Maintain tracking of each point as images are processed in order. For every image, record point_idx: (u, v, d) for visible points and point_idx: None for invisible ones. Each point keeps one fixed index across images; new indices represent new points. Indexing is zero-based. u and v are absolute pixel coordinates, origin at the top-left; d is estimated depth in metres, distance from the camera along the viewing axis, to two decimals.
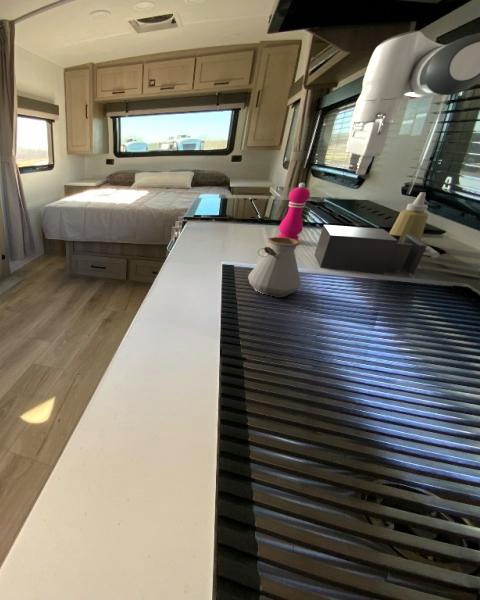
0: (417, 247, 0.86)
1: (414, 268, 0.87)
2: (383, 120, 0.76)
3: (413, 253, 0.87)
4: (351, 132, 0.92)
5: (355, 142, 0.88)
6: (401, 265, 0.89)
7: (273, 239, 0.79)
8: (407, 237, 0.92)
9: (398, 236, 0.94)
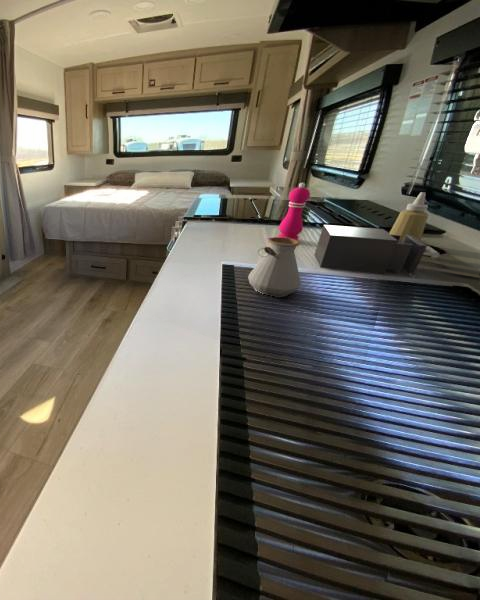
0: (417, 247, 0.86)
1: (414, 268, 0.87)
2: None
3: (413, 253, 0.87)
4: (474, 130, 0.82)
5: None
6: (401, 265, 0.89)
7: (273, 239, 0.79)
8: (407, 237, 0.92)
9: (398, 236, 0.94)
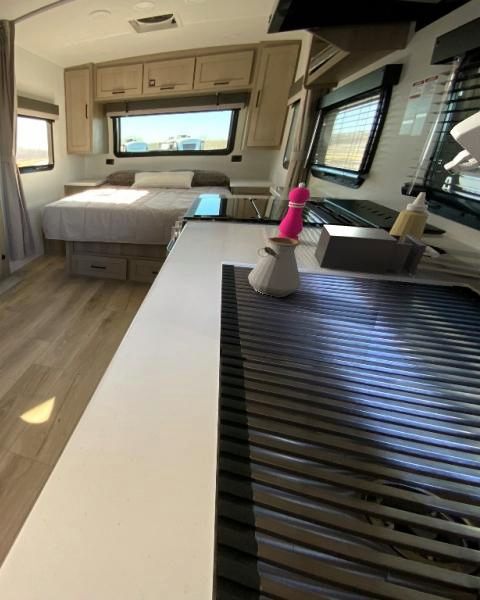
0: (417, 247, 0.86)
1: (414, 268, 0.87)
2: None
3: (413, 253, 0.87)
4: None
5: None
6: (401, 265, 0.89)
7: (273, 239, 0.79)
8: (407, 237, 0.92)
9: (398, 236, 0.94)
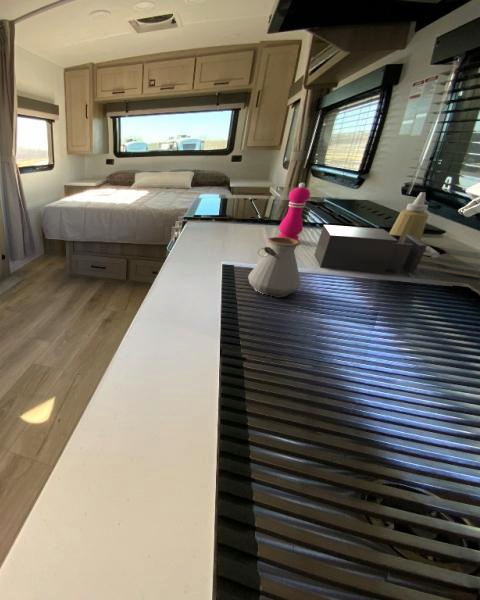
0: (417, 247, 0.86)
1: (414, 268, 0.87)
2: None
3: (413, 253, 0.87)
4: None
5: None
6: (401, 265, 0.89)
7: (273, 239, 0.79)
8: (407, 237, 0.92)
9: (398, 236, 0.94)
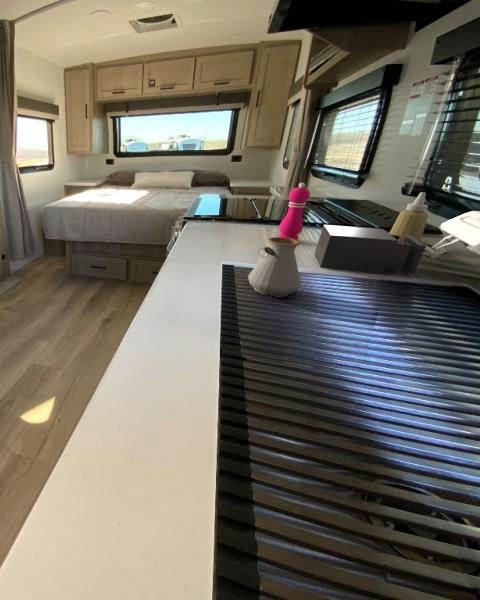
0: (416, 247, 0.86)
1: (413, 268, 0.87)
2: None
3: (412, 253, 0.88)
4: None
5: None
6: (400, 265, 0.89)
7: (273, 239, 0.79)
8: (406, 237, 0.92)
9: (398, 236, 0.94)
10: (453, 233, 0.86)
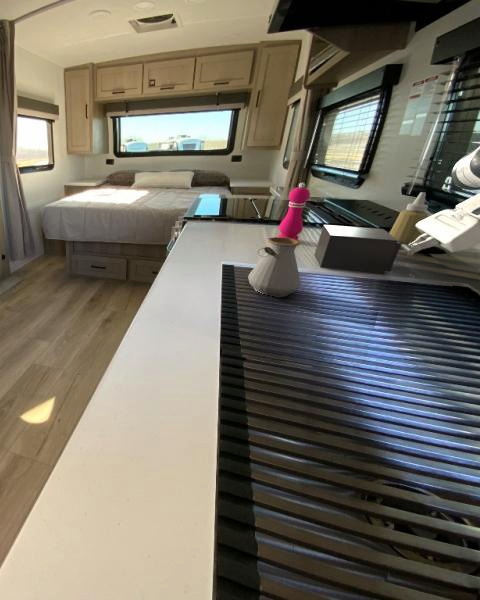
0: None
1: (390, 265, 0.89)
2: None
3: None
4: None
5: None
6: None
7: (273, 239, 0.79)
8: None
9: None
10: (427, 231, 0.88)
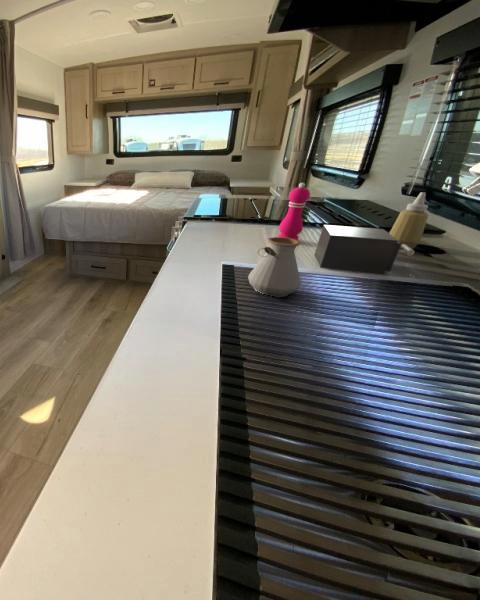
0: None
1: (390, 265, 0.89)
2: None
3: None
4: None
5: None
6: None
7: (273, 239, 0.79)
8: None
9: None
10: None
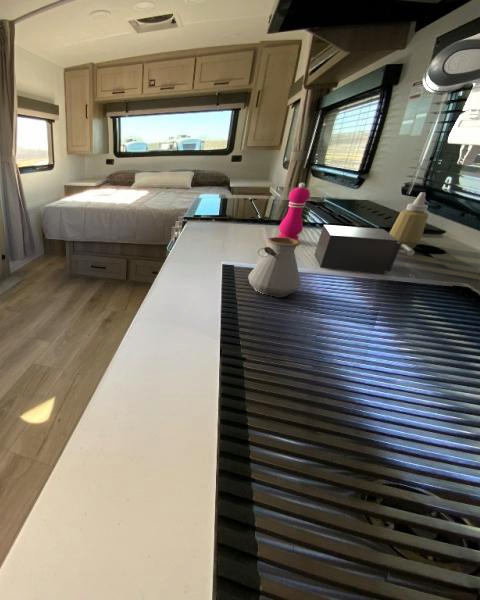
0: None
1: (390, 265, 0.89)
2: None
3: None
4: None
5: None
6: None
7: (273, 239, 0.79)
8: None
9: None
10: (462, 143, 0.83)
